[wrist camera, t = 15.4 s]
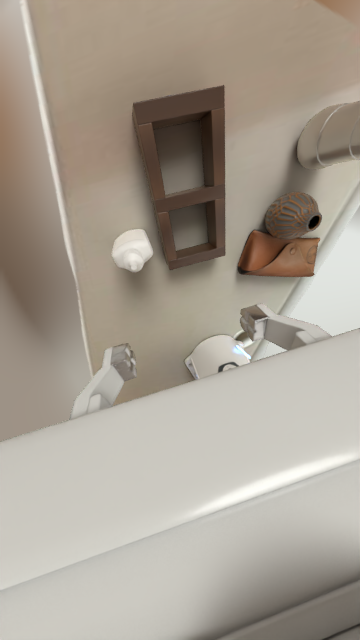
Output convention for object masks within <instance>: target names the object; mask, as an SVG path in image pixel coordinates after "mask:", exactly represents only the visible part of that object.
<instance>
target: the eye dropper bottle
mask: <svg viewBox="0 0 360 640" xmlns="http://www.w3.org/2000/svg"><path fill="white" fill-rule="evenodd" d="M152 255H153V249H152V246H151V244H150V241H149V239H148V236H147V234H146V232H145V230H142V229H134V230H129V231H126V232H124V233H123V234H121V235H120V236H119V237H118V238H117V239H116V240H115V241H114V245H113V250H112V258H113V260H114V262H115V264H116V265H117V266H118V267H119V268H124V269H127V270H128V271H131V272H137V271H140V270H141V269H142V267H143V264H144V263H145V262H146V261H148V260H149V259H150V258H151V256H152Z"/></svg>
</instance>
